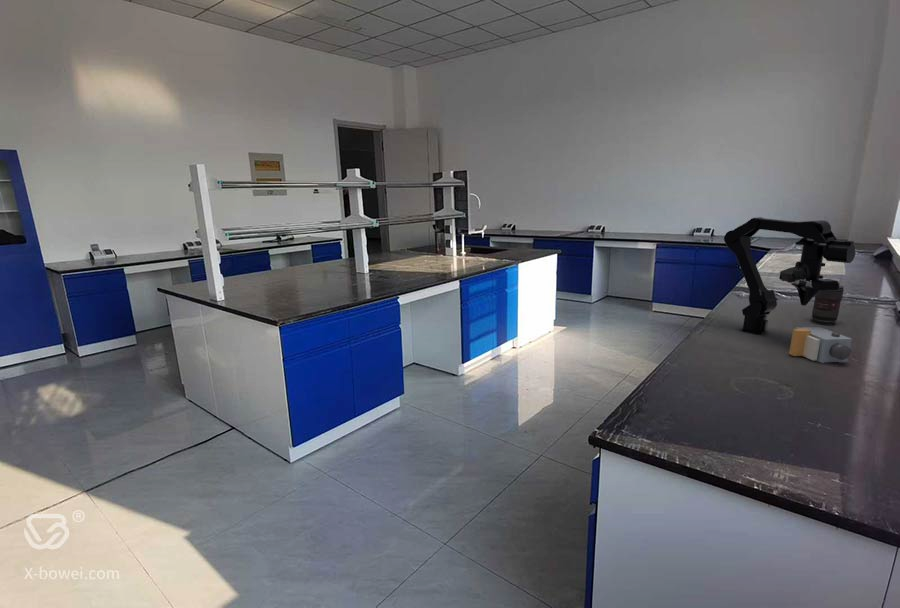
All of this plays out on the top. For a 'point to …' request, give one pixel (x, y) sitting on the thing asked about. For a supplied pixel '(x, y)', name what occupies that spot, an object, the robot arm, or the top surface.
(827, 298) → the camera lens
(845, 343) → the grey knobbed box
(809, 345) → the side door
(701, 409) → the top surface
